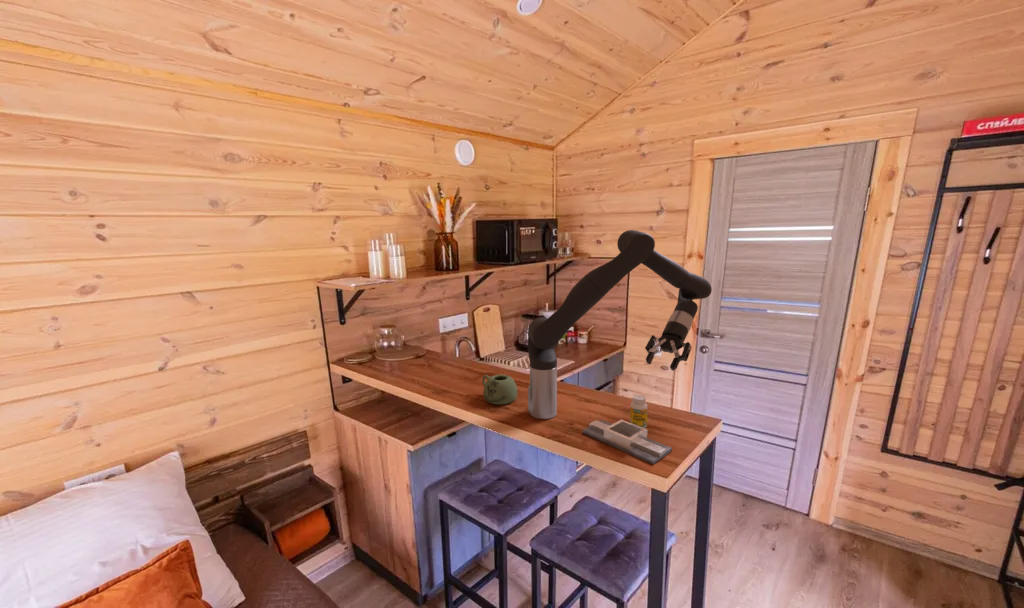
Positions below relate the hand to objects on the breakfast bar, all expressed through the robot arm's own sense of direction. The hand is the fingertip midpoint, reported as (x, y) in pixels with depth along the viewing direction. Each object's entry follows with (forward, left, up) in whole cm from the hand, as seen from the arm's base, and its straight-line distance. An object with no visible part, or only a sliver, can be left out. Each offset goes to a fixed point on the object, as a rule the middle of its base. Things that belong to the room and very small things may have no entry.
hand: (659, 366), depth 138 cm
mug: (-48, -31, -17) cm, 60 cm away
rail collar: (+3, -24, -17) cm, 29 cm away
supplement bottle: (0, -12, -17) cm, 21 cm away
